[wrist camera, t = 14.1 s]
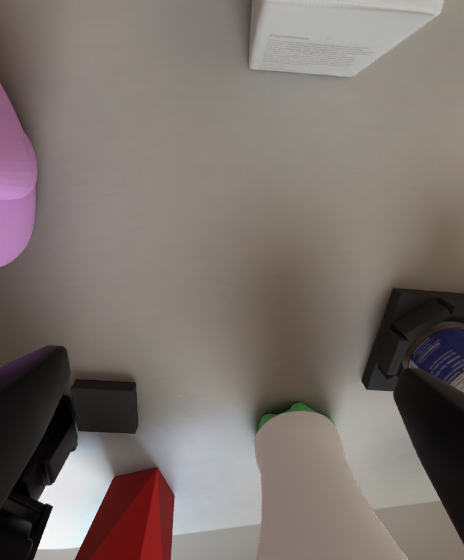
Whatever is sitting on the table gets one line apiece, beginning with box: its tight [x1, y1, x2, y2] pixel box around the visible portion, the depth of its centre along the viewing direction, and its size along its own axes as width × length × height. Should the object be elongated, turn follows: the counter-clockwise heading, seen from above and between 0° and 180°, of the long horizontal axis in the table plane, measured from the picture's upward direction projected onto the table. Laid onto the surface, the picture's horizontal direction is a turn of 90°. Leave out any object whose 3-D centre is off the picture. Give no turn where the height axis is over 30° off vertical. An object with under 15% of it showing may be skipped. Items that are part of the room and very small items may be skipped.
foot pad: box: [362, 289, 464, 391], centre depth 22 cm, size 9×9×2 cm
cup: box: [254, 403, 409, 560], centre depth 20 cm, size 11×11×14 cm
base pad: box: [71, 380, 138, 434], centre depth 25 cm, size 5×5×1 cm
